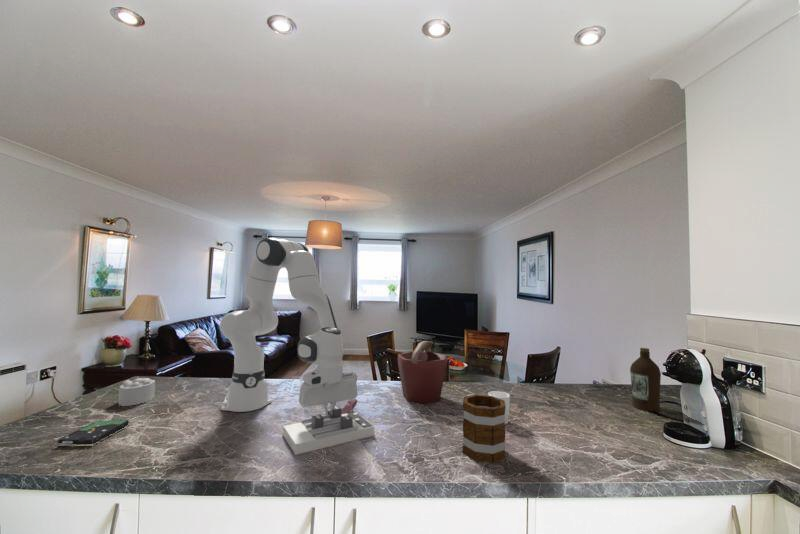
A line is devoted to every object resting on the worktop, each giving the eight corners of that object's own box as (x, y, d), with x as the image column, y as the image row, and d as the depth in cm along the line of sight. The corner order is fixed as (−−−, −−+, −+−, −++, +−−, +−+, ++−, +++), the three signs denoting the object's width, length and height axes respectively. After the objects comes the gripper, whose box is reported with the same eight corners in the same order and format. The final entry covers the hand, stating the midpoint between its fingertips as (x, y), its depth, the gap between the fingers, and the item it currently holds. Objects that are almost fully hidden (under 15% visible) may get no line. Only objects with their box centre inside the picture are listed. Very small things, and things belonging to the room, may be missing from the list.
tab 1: (330, 417, 120) (330, 406, 120) (338, 415, 121) (338, 405, 121) (333, 419, 117) (333, 409, 117) (341, 418, 119) (341, 408, 119)
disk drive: (93, 448, 102) (129, 427, 117) (93, 439, 102) (129, 419, 117) (56, 449, 101) (97, 427, 116) (57, 439, 101) (97, 419, 116)
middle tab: (311, 426, 111) (311, 416, 111) (320, 425, 113) (320, 414, 113) (314, 430, 108) (314, 419, 109) (323, 428, 110) (323, 417, 110)
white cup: (511, 419, 129) (511, 392, 129) (508, 427, 122) (508, 399, 122) (489, 416, 132) (490, 389, 133) (486, 423, 125) (486, 395, 126)
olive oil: (640, 402, 152) (639, 345, 153) (667, 410, 142) (665, 349, 143) (625, 405, 148) (624, 346, 149) (651, 413, 138) (649, 351, 139)
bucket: (417, 387, 168) (418, 336, 169) (458, 396, 155) (459, 341, 157) (387, 400, 148) (388, 342, 150) (431, 411, 135) (432, 348, 137)
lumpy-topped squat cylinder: (157, 396, 148) (159, 376, 148) (138, 406, 135) (140, 384, 136) (131, 396, 147) (133, 376, 147) (110, 407, 134) (111, 385, 134)
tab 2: (340, 427, 111) (340, 416, 111) (348, 425, 113) (349, 414, 113) (343, 430, 109) (344, 419, 109) (352, 428, 110) (352, 417, 110)
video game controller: (344, 423, 126) (353, 407, 126) (334, 417, 127) (343, 400, 127) (353, 414, 136) (361, 398, 135) (343, 408, 137) (351, 392, 136)
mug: (515, 461, 98) (515, 408, 99) (470, 464, 96) (470, 410, 97) (487, 432, 117) (487, 388, 118) (449, 434, 115) (450, 389, 116)
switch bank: (283, 435, 112) (283, 422, 112) (355, 419, 126) (355, 408, 126) (295, 454, 99) (295, 440, 99) (374, 435, 113) (374, 423, 113)
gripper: (353, 369, 127) (352, 407, 126) (298, 376, 116) (296, 417, 115) (360, 373, 121) (359, 412, 120) (303, 380, 111) (302, 424, 110)
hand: (328, 415), depth 118 cm, fingers closed
